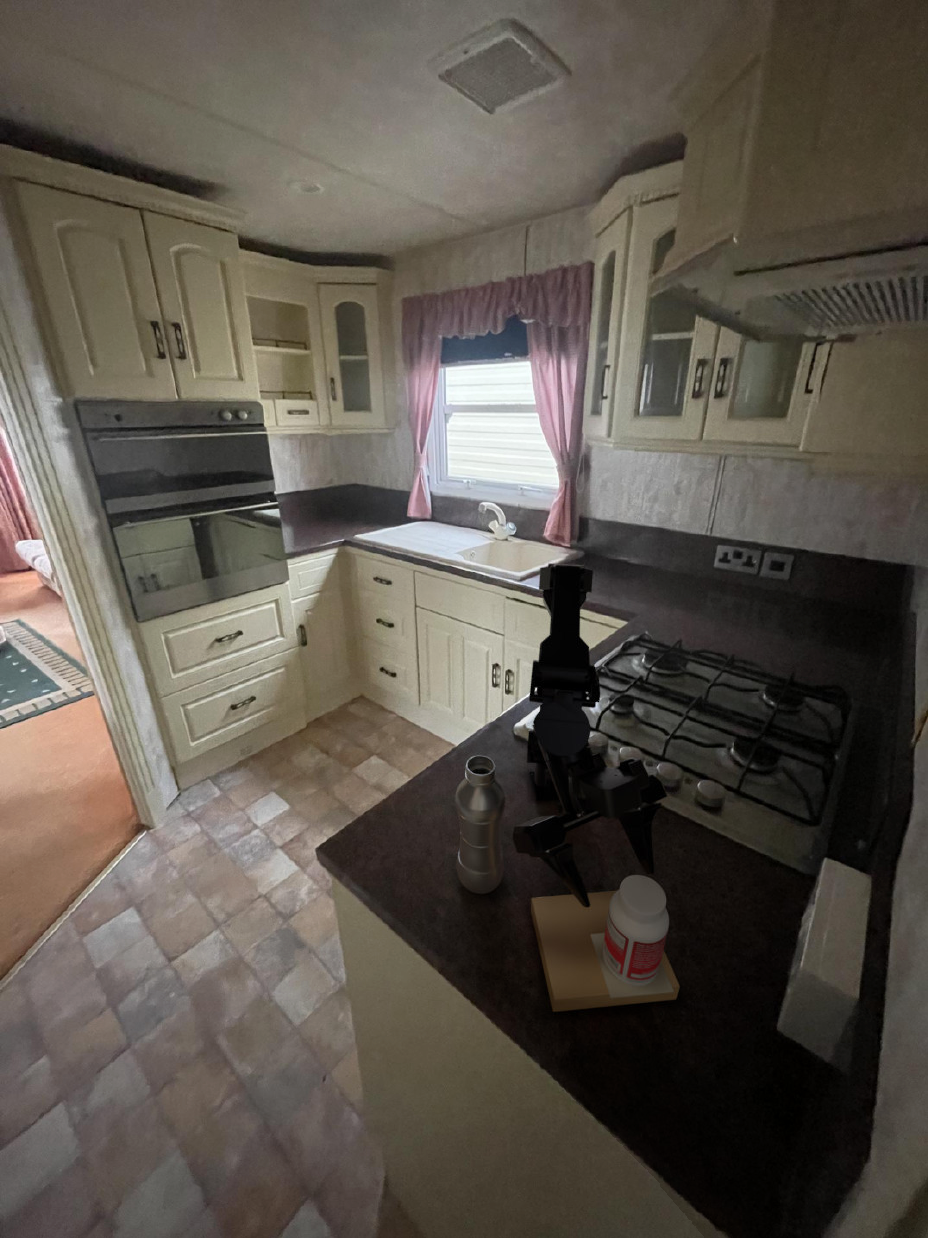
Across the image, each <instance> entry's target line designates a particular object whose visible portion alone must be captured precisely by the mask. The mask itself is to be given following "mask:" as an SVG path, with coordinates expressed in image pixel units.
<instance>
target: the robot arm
mask: <svg viewBox="0 0 928 1238" xmlns="http://www.w3.org/2000/svg"><path fill="white" fill-rule="evenodd" d="M593 576H594V570H593V569H589V568H586V566H585V564H571V563H551V562H550V563H549V562H548V565H547V566H545V567H540V568H539V581H538V582H539V583H538V590H539V591H540V592H541V591H542V603H543V606H544V607H545V609H546V611H547V613H548V615H549V617H550V623H549V635H547V636H546V637H545V638H543V640H542V641H541V642H540V643H539V652H538V659H533V660H532V666H531V667H532V669H531V677H530V686H529V687H530V688H529V698H528V701H529V702H530V703H538V704H539V711H538V712H537V713H536V715H535V716H534V718H533V721H532V725H531V727H532V729H528V734H527V735H528V737H527V748H526V749H527V750H526V751H527V752H526V763H527V764H531V763H532V764H534V770H530V771H528V778H529V782H530V786H531V788H532V792H533V795H534V799H535V800H536V801H549V800H559V803H557V804H556V805H555V806H556V808H557V811H558V814H561V815H558V816H557V815H556V814H555V815H542V816H536V817H535V818H532V819H530V820H527V821H525V822H522V823H520V824H518V825H515V826H514V827H513V830H512V841H513V845H514V847H515V850H516V853H517V854H528V855H529V857H530V858H540V859H541V860H542V861H543V863H545V864H546V865H547V866H548V868H550V869H551V870H552V871H553V872H554V874H556V876H557V877H558V878H559V879H560V880H561V882H562V883H563V884H564V885H565V887H566V888H567V889H568V890H569V891H570V892H571V893H572V894H573V895H574V896H575V897H576V898H577V900H578V901H579V902H580V903H581V904H582V906H583V907H586V908H588V907H590V902H589V898H588V895H587V893H588V891H587V889H586V887H585V883H584V882H583V878H582V876H581V874H580V872H579V869H578V867H577V864H576V862H575V860H574V844H573V843H568V842H567V843H566V842H565V839H566V836H567V832H570V831H572V830H574V829H576V828H579V827H581V826H584V825H585V824H586V825H587V824H588V823H590V822H592V821H594V820H597V819H600V818H601V817H603V818H605V819H610V820H611V819H617V818H618V821H619V823H620V825H621V827H622V829H623V831H624V833H625V836H626V838H627V840H628V841H629V843H630V846H631V848H632V850H633V852H634V854H635V856H636V859H637V860H638V862H639V864H640V866H641V867H642V869H643V871H644V872H645V873H646V874H647V875H654V873H655V863H654V850H653V835H652V834H653V830H652V829H653V820H654V818H655V816H656V813H657V812H658V810H659V809H661V808H662V806H663V805H662V802H659V801H661V800H663V799H665V798H667V797H668V796H669V795H668V792H667V790H666V788H665V785H664V783H663V781H661V780H660V778H658V777H657V776H655V774H648V771H647V769H646V767H645V765H644V763H643V762H642V759H641V758H638V757H635V756H631V757H629V758H626V759H624V760H621V761H620V762H619V765H617V766H614V767H609V766H608V765H607V764H606V762H605V759H604V757H603V756H602V755H601V752H597V753H594V752H593V749H592V747H591V745H590V742H589V740H590V737H591V722H590V720H589V717H588V715H587V713H586V712H585V711H584V710H583V708H589V709H595V708H596V706H597V703H598V704H599V703H600V702H601V685H600V675H599V673H598V672H597V668H596V667H597V666H595V664H591V661H590V660H591V659H590V657H591V656H590V646H589V645H588V644H587V642H585V640H584V639H583V638H582V637H581V610H582V609H583V607H584V605H585V603H586V600H587V595H588V594H591V593H592V591H593V580H594V579H593ZM562 813H563V814H562Z"/></svg>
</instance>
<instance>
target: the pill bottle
mask: <svg viewBox="0 0 928 1238" xmlns="http://www.w3.org/2000/svg"><path fill="white" fill-rule="evenodd" d="M616 891H617V892H615V894H614V895H613V896H612V898H611V901H610V905H609V911H608V918H607V924H606V930H605V937H604V944H603V956H604V960H605V963H606V965H607V967H608V968H609V970H610V971H611V972H612V974H613V975H614V976H615V977H617V978H618V979H619V980H621V981H623V982H624V983H627V984H629V985H634V986H643V985H647V984H649V983H650V982H652V981H653V980H654V979H655V977H656V976H657V974H658V971H659V967H660V963H661V959H662V954H663V950H664V951H665V945H666V940H667V936H668V932H669V928H670V927H669V926H670V916H669V913H668V910H667V908H666V907H667V896H666V893H665V890H664V889H663V887H662V886H661V885H660V884H659V883H658V882H657V881H655V880H654V879H652V878H651V877H648V876H646V875H642V874H632V875H628V876H626V877H624V879H622V881H621V883H620V886H619V889H618V890H616Z"/></svg>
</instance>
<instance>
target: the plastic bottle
mask: <svg viewBox="0 0 928 1238" xmlns="http://www.w3.org/2000/svg"><path fill="white" fill-rule="evenodd" d="M496 778H497V774H496V764H495V761H494V760H493V759H491V757H489V756H487V755H486V756H485V755H473V756H471V757H470V758H469V759H467V761H466V763H465V772H464V779H463V780H462V781H461V782H460V783H459V784H458V786H457V789H456V791H455V794H454V795H455V796H454V801H455V807H456V812H457V813H456V814H457V818H458V824H459V834H460V835H459V836H460V837H459V838H460V839H459V848H458V849H459V850H458V852H457V858H456V872H457V877H458V880H459V881H460V883H461V884H462V886H463V887H464V888H465V889H467V890H468V891H470V892H472V893H473V894H478V895H486V894H488V893H489V894H490V893H491V892H492V891H494V890H496V889H497V887H499V886H500V884H501V882H502V880H503V875H504V872H505V865H504V858H503V853H502V847H501V831H502V829H501V828H502V820H503V816H504V811H505V807H506V795H505V792H504V789H503V787H502V786H501V784H500V783H499V782H498V781H497V779H496Z"/></svg>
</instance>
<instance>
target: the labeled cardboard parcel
mask: <svg viewBox="0 0 928 1238" xmlns="http://www.w3.org/2000/svg"><path fill="white" fill-rule="evenodd" d="M617 891H618V890H610V891H609V890H608V891H596V892H587V895H588V898H589V902H590V907H588V908H586V907H583V906H582V904H581V903H580V902H579V901H578V900H577V898H576V897H575V896H574V895H573V893H572V894H563V895H562V894H560V895H553V896H552V895H549V896H539V897H538V896H537V897H531V902H530V904H531V905H530V913H531V917H532V922H533V927H534V932H535V936H536V941H537V946H538V949H539V954H540V959H541V963H542V964H541V965H542V969H543V973H544V978H545V982H546V986H547V991H548V997H549V1001H550V1004H551V1010H552V1012H553V1013H555V1012H556V1013H557V1012H567V1011H575V1010H586V1009H596V1008H597V1009H598V1008H607V1007H615V1006H624V1005H634V1004H643V1003H644V1004H645V1003H655V1002H664V1001H665V1002H666V1001H674V1000H677V998H678V994H679V992H680V987H681V986H680V983H679V982H678V979H677V977H676V975H675V972H674V970H673V967H672V965H671V963H670V961H669V958H668V956H667V954H666V952H665V949H664V950H663V954H662V959H661V963H660V967H659V971H658V974H657V976H656V977H655V979H654V980H653V981H652V982H650V983H649V984H647V985H643V986H634V985H629V984H627V983H624V982H623V981H621V980H619V979H618V978H617V977H615V976H614V975H613V974H612V972H611V971H610V970H609V968H608V967H607V965H606V963H605V960H604V956H603V944H604V937H605V930H606V924H607V918H608V911H609V905H610V901H611V898H612V896H613V895H614V894H615V892H617Z"/></svg>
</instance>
